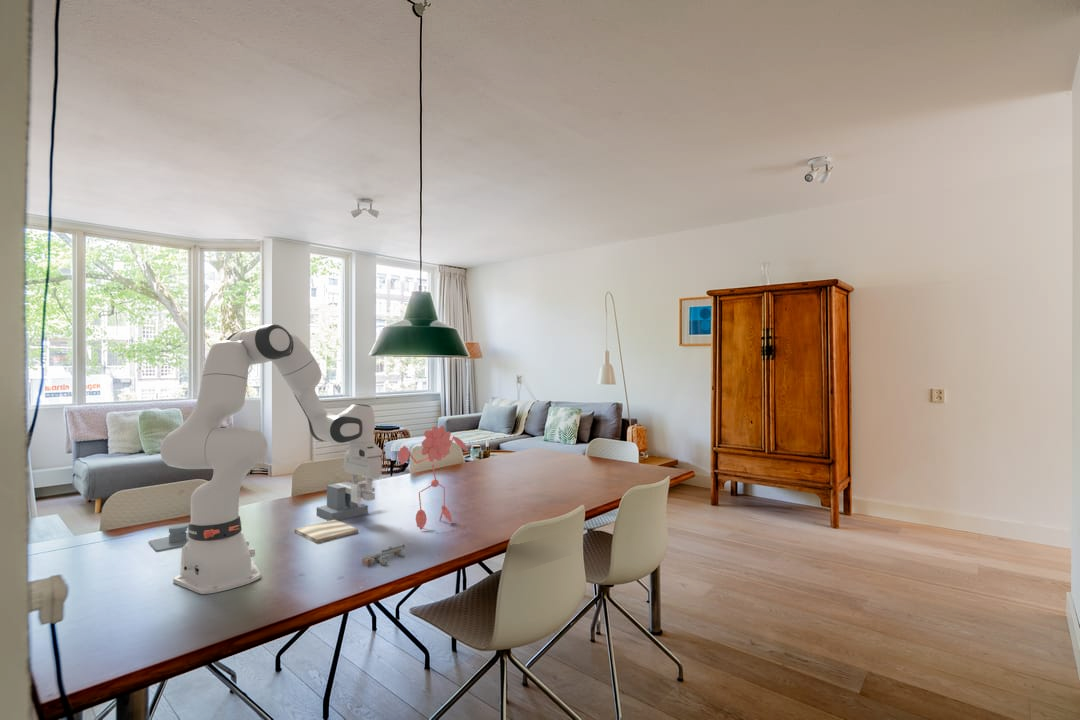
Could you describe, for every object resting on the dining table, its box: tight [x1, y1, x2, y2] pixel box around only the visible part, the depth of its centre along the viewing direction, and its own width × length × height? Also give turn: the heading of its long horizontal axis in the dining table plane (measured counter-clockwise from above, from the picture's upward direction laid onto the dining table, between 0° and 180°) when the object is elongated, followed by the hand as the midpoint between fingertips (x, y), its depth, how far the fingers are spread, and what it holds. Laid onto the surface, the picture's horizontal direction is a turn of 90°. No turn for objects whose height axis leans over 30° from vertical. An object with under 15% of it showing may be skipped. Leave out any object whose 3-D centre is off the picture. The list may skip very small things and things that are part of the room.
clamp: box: [361, 543, 406, 567], centre depth 152 cm, size 15×2×10 cm
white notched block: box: [350, 480, 373, 503], centre depth 187 cm, size 4×6×6 cm, turn 138°
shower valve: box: [147, 522, 190, 553], centre depth 167 cm, size 12×6×15 cm
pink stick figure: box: [397, 425, 469, 535], centre depth 181 cm, size 15×26×35 cm, turn 132°
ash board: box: [294, 520, 359, 544], centre depth 175 cm, size 16×14×1 cm
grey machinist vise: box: [316, 481, 376, 521], centre depth 194 cm, size 27×20×11 cm
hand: (361, 487), depth 187 cm, fingers open, 6 cm apart
